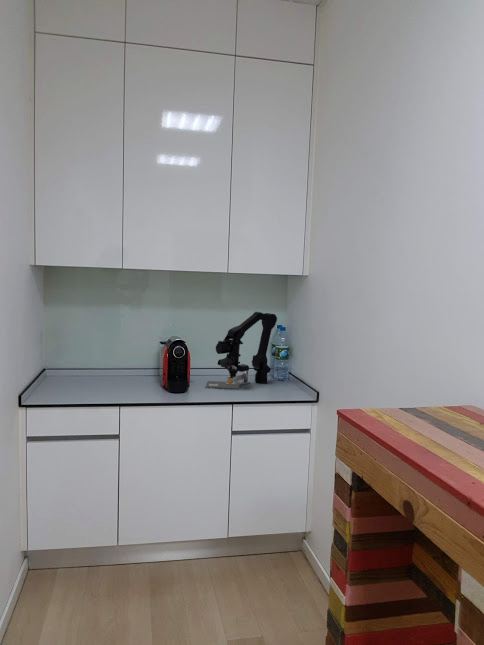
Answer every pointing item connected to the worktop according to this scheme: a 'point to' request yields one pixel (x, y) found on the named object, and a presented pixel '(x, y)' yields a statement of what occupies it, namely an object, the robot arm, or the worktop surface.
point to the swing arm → (238, 377)
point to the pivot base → (245, 383)
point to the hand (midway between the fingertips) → (232, 380)
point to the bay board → (222, 385)
